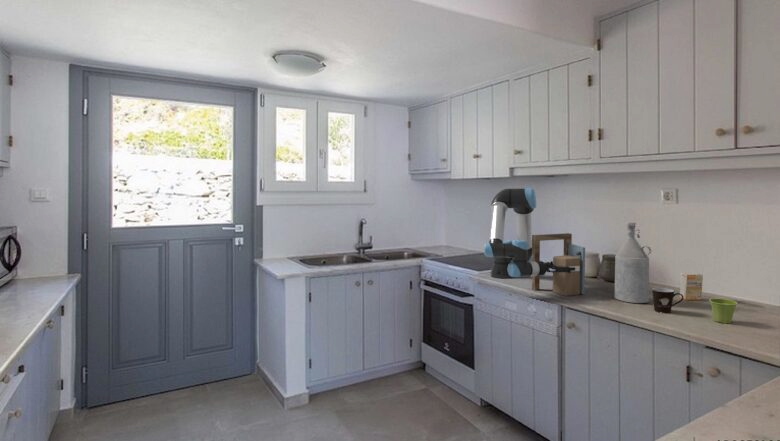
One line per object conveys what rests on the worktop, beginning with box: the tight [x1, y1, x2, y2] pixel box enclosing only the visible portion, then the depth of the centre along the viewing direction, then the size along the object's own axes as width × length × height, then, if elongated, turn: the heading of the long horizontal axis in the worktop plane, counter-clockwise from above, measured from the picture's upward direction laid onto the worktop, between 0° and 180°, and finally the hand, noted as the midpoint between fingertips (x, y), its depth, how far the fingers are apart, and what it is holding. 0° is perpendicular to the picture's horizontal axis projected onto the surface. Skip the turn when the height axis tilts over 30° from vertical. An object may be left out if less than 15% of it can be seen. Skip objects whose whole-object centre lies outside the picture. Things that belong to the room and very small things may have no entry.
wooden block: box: [552, 255, 581, 297], centre depth 232 cm, size 10×10×20 cm
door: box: [568, 243, 586, 295], centre depth 236 cm, size 17×3×25 cm, turn 3°
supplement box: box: [679, 272, 703, 301], centre depth 216 cm, size 8×5×13 cm, turn 89°
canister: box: [614, 221, 652, 304], centre depth 215 cm, size 13×17×40 cm
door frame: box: [531, 232, 573, 291], centre depth 244 cm, size 3×24×31 cm, turn 104°
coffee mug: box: [651, 287, 684, 314], centre depth 196 cm, size 12×9×10 cm
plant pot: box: [708, 298, 738, 324], centre depth 181 cm, size 9×9×9 cm
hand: (571, 266), depth 233 cm, fingers open, 12 cm apart
